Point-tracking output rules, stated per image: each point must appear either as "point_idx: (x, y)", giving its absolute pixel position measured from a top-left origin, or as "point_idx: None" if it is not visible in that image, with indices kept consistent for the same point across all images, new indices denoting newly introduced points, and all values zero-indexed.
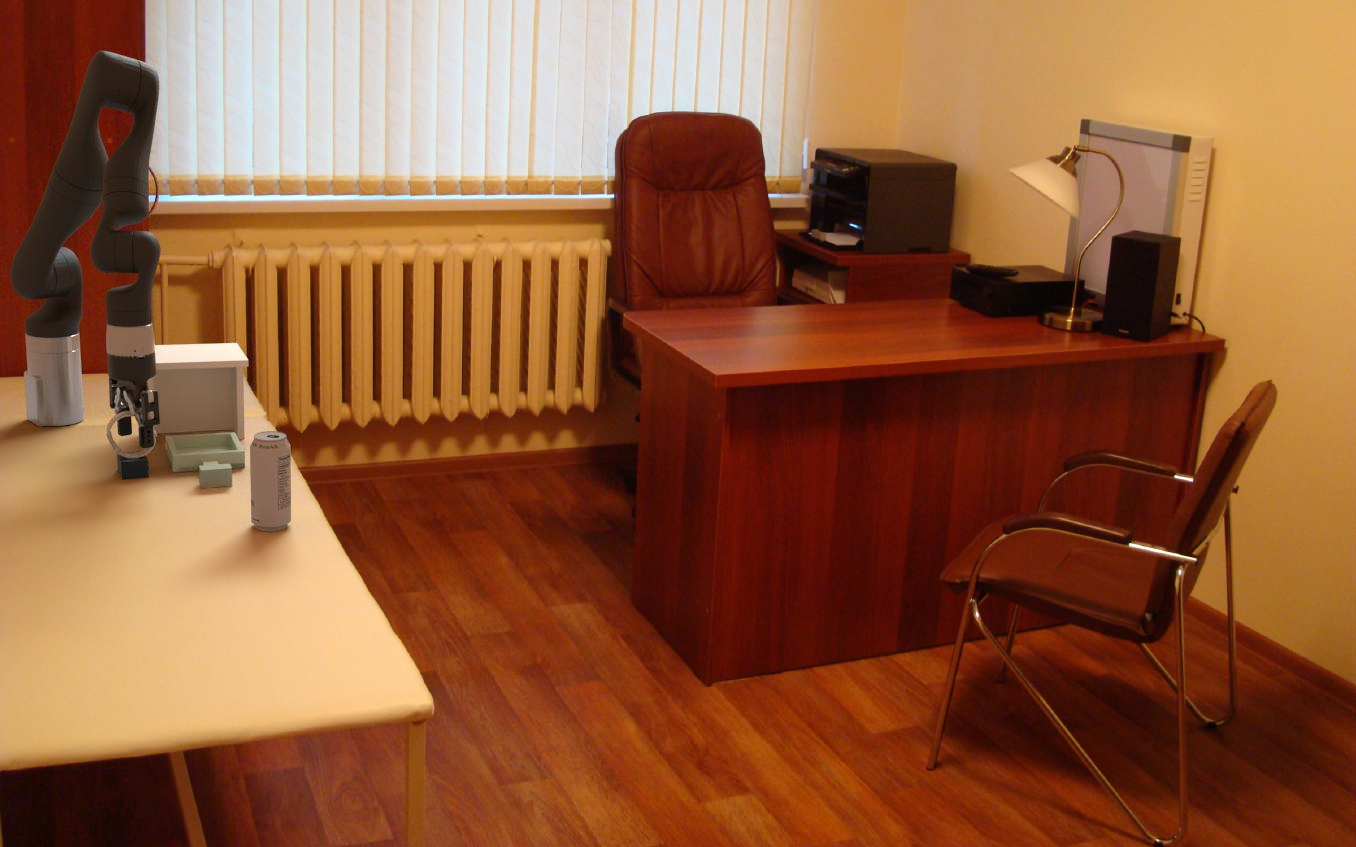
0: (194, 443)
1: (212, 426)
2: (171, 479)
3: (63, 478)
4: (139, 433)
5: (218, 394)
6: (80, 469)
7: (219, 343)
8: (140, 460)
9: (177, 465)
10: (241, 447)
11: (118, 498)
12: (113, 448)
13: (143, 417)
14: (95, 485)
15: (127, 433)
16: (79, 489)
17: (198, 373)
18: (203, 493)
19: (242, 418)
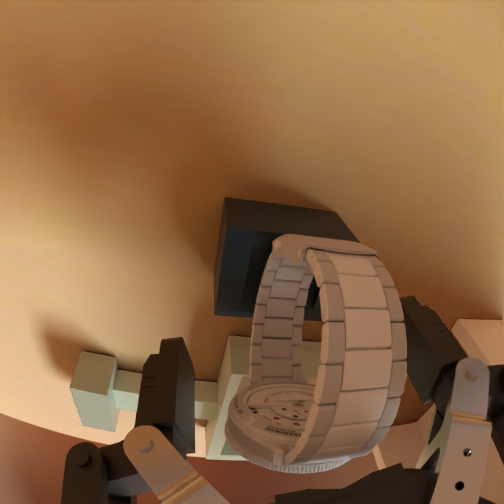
0: None
1: None
2: (172, 318)
3: (332, 27)
4: (165, 392)
5: None
6: (398, 111)
7: None
8: (221, 293)
9: (228, 357)
10: (234, 458)
11: (40, 151)
12: (285, 235)
13: (82, 488)
14: (197, 100)
15: None
16: (175, 40)
17: (488, 475)
18: (52, 342)
19: (378, 463)
